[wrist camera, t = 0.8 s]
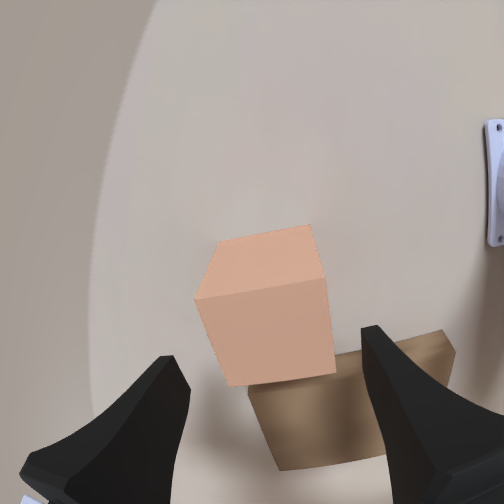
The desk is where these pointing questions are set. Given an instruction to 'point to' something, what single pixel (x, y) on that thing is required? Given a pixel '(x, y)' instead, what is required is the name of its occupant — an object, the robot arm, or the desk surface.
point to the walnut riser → (336, 408)
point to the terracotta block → (268, 308)
